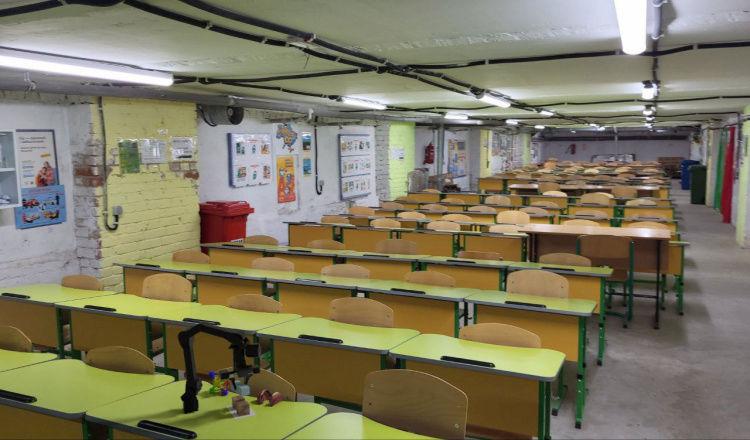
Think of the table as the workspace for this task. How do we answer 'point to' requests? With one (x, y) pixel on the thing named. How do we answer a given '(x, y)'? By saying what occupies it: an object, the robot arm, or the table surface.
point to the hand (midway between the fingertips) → (240, 389)
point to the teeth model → (269, 397)
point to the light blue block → (241, 388)
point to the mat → (237, 414)
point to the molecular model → (219, 384)
